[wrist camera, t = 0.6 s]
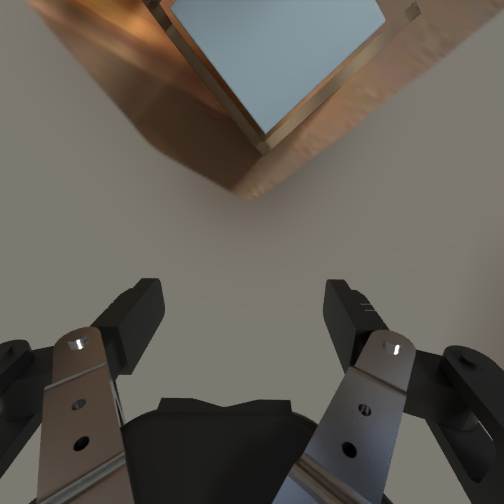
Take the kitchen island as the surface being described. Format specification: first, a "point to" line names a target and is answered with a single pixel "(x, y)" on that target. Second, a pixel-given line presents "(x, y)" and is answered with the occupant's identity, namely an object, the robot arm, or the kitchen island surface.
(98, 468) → the robot arm
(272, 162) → the kitchen island surface
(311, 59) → the trapdoor
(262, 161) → the kitchen island surface
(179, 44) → the trapdoor frame
